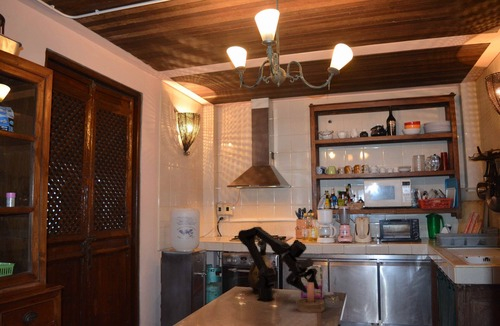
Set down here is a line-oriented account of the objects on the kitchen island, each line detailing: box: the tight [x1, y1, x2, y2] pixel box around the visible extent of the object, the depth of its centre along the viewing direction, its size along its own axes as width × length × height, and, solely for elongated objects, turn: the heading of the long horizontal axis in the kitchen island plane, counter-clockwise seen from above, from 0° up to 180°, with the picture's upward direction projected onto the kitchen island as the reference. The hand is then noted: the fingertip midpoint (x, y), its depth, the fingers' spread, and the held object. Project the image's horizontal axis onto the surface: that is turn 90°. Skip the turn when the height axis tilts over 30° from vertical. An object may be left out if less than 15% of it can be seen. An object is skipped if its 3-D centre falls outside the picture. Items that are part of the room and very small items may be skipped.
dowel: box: [307, 282, 314, 303], centre depth 183 cm, size 3×3×12 cm
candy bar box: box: [300, 264, 324, 300], centre depth 206 cm, size 11×5×16 cm, turn 73°
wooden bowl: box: [295, 298, 326, 314], centre depth 183 cm, size 12×12×4 cm
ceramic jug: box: [247, 239, 276, 295], centre depth 221 cm, size 17×15×30 cm
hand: (312, 290), depth 182 cm, fingers open, 9 cm apart
